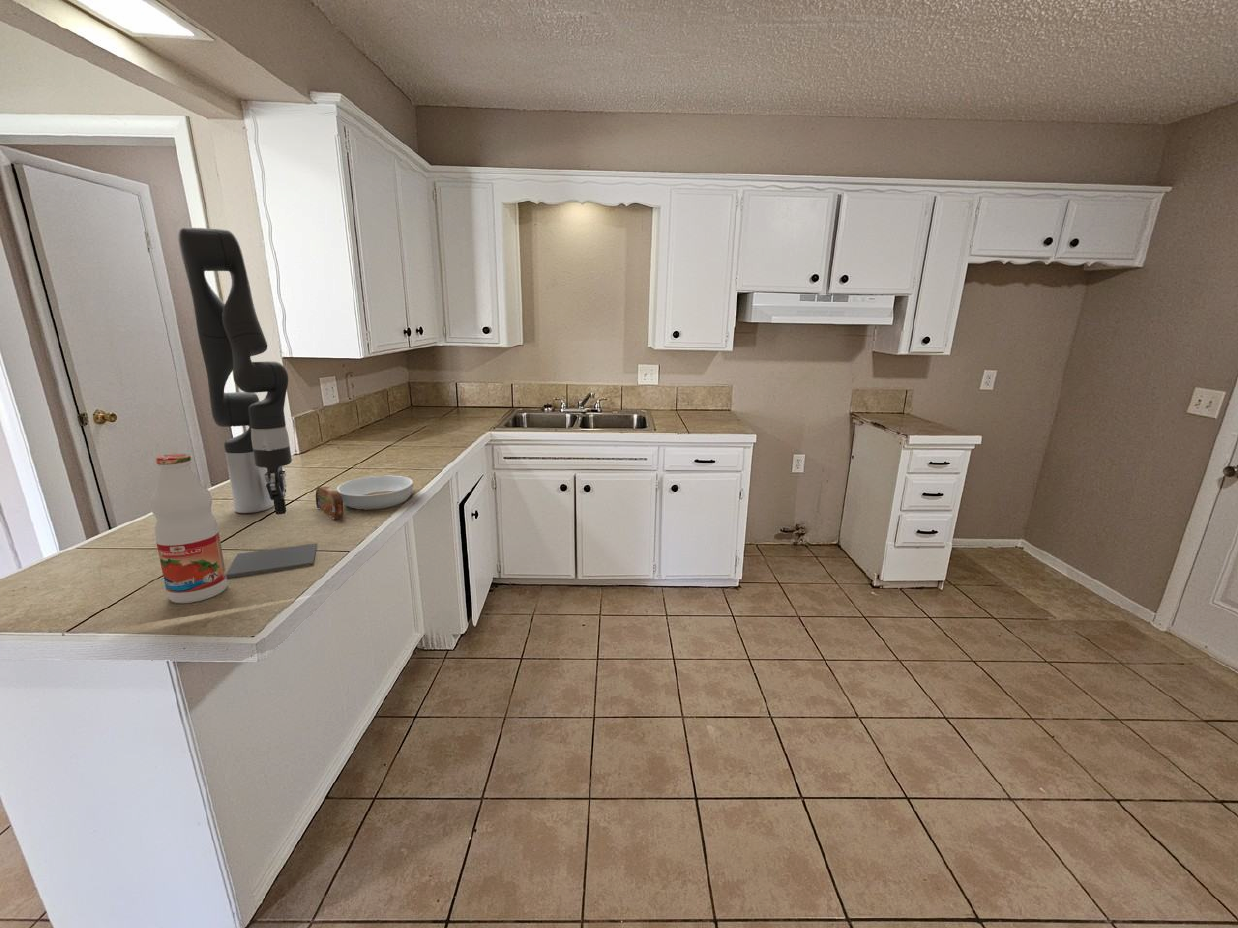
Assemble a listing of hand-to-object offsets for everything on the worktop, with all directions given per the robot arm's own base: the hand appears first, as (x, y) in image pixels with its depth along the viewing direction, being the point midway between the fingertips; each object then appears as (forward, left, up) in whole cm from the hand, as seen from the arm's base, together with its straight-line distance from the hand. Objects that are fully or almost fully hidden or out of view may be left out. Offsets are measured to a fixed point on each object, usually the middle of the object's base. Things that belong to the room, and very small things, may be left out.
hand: (281, 513), depth 130 cm
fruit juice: (+27, -12, -7) cm, 30 cm away
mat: (+15, 0, -7) cm, 17 cm away
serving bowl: (-19, +22, -7) cm, 30 cm away
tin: (-13, +10, -7) cm, 17 cm away
